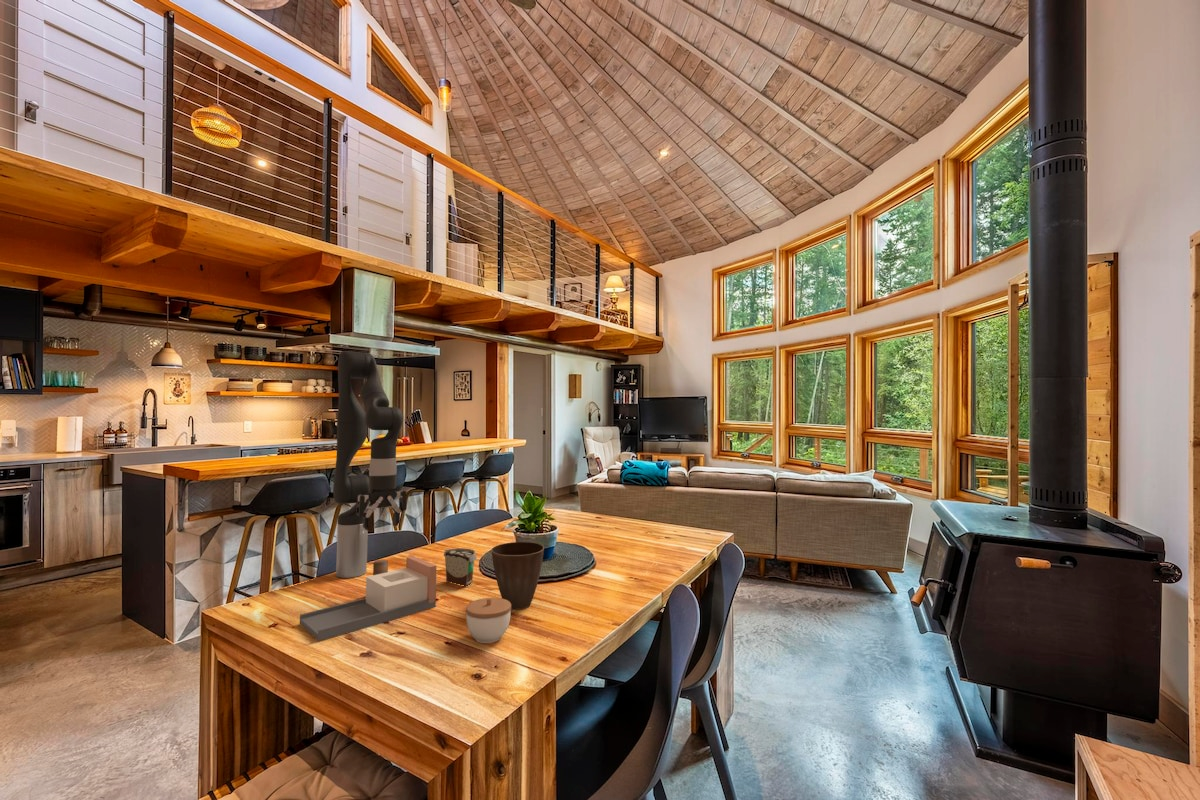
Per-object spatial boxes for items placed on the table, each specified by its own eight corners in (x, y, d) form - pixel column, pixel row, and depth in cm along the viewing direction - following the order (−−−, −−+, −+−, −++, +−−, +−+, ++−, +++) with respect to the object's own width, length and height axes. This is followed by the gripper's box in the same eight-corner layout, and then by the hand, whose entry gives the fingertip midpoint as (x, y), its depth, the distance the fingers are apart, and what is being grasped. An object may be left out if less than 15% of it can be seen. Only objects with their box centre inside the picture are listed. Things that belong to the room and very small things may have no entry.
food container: (484, 582, 160) (484, 551, 160) (469, 588, 154) (470, 555, 155) (457, 576, 166) (458, 546, 167) (443, 581, 161) (443, 550, 161)
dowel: (370, 595, 147) (371, 561, 148) (383, 592, 150) (384, 558, 151) (376, 599, 145) (376, 564, 145) (389, 595, 148) (390, 561, 148)
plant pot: (496, 618, 131) (497, 557, 132) (485, 599, 145) (486, 544, 146) (550, 610, 138) (551, 551, 138) (534, 592, 151) (535, 539, 152)
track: (299, 624, 126) (301, 578, 127) (411, 594, 148) (412, 555, 149) (318, 641, 117) (320, 592, 117) (435, 606, 139) (436, 565, 139)
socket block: (365, 602, 138) (366, 576, 138) (407, 591, 146) (407, 567, 147) (384, 614, 129) (385, 587, 130) (427, 602, 138) (427, 576, 139)
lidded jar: (463, 632, 123) (463, 593, 123) (506, 625, 127) (506, 588, 127) (468, 651, 113) (469, 609, 113) (514, 643, 117) (515, 603, 117)
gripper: (400, 470, 157) (399, 522, 156) (353, 474, 146) (351, 529, 145) (411, 472, 151) (410, 526, 151) (363, 476, 141) (362, 533, 140)
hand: (381, 527), depth 148 cm, fingers open, 8 cm apart
